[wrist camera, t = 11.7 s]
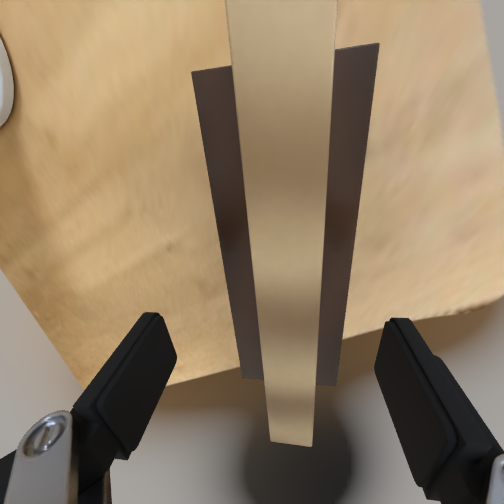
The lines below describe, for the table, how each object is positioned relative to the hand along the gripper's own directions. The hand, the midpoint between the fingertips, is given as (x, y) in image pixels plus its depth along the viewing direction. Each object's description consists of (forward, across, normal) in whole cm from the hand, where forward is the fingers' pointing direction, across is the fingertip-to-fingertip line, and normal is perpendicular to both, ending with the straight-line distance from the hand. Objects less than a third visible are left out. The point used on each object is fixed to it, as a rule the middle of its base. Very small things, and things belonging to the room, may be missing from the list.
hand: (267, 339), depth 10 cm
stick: (+6, -1, 0) cm, 6 cm away
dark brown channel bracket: (+14, -1, +1) cm, 15 cm away
